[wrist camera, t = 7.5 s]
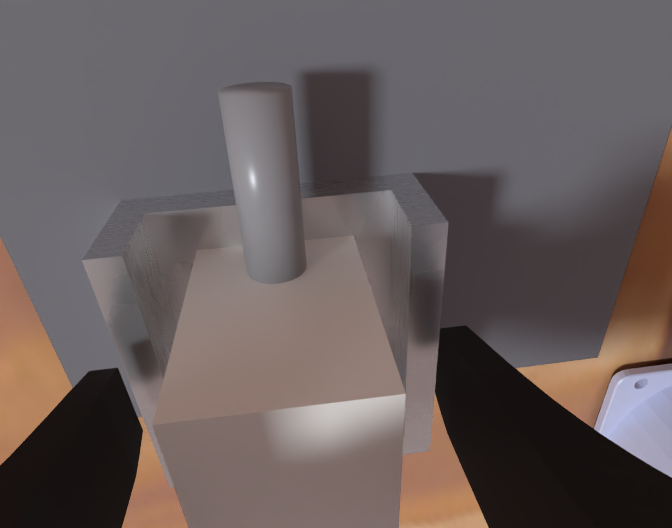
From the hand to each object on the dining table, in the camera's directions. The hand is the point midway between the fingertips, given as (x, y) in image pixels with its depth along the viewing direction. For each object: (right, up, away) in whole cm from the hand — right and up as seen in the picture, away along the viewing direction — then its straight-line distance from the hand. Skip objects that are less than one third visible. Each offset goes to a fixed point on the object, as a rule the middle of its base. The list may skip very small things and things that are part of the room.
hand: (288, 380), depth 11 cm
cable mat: (+1, +5, +2) cm, 5 cm away
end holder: (0, +1, +4) cm, 4 cm away
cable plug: (0, +3, +1) cm, 4 cm away
